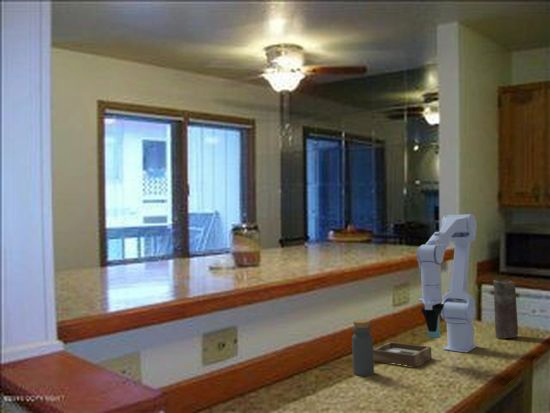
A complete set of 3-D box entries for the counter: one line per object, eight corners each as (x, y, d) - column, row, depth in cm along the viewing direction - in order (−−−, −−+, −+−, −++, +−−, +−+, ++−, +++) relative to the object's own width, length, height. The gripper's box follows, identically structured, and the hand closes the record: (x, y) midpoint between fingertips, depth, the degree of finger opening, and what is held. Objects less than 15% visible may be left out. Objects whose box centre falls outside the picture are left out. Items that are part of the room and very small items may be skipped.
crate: (390, 352, 184) (390, 341, 184) (431, 358, 175) (431, 346, 175) (372, 361, 174) (371, 349, 174) (414, 367, 166) (413, 355, 166)
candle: (498, 334, 203) (496, 278, 203) (520, 336, 198) (517, 278, 198) (493, 338, 196) (490, 280, 197) (515, 340, 192) (512, 281, 192)
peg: (428, 335, 172) (428, 312, 172) (441, 336, 170) (440, 312, 170) (426, 338, 169) (425, 314, 169) (439, 338, 167) (438, 315, 167)
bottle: (361, 369, 167) (359, 318, 167) (378, 372, 163) (375, 320, 163) (349, 373, 163) (346, 321, 163) (365, 377, 158) (363, 323, 159)
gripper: (422, 281, 178) (424, 324, 178) (413, 287, 165) (415, 334, 165) (445, 281, 175) (447, 325, 175) (438, 288, 162) (440, 335, 162)
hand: (433, 329), depth 170 cm, fingers closed on peg, 4 cm apart
